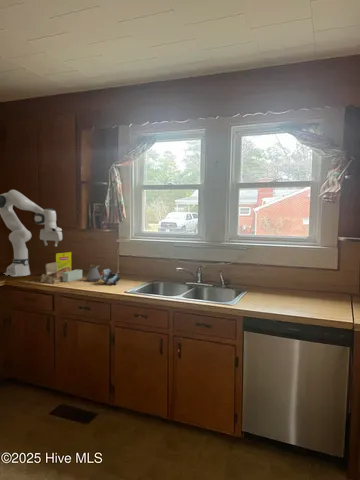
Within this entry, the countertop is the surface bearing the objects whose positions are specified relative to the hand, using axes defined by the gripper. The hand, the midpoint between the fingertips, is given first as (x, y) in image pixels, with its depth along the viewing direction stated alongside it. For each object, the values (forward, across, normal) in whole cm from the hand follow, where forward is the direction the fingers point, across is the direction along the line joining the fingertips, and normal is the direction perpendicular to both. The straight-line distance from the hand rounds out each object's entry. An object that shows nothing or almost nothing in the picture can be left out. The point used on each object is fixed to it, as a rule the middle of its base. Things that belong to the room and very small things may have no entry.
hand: (51, 245), depth 281 cm
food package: (+28, -4, +20) cm, 35 cm away
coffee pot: (+28, +32, +18) cm, 46 cm away
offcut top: (+24, +6, 0) cm, 25 cm away
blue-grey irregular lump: (+29, +49, +10) cm, 58 cm away
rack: (+28, +4, 0) cm, 28 cm away
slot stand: (+28, +14, +9) cm, 33 cm away
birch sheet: (+28, 0, 0) cm, 28 cm away
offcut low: (+28, +6, 0) cm, 29 cm away
